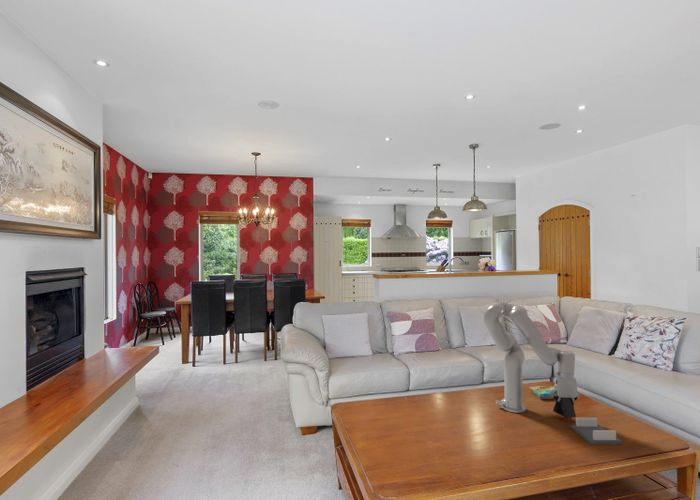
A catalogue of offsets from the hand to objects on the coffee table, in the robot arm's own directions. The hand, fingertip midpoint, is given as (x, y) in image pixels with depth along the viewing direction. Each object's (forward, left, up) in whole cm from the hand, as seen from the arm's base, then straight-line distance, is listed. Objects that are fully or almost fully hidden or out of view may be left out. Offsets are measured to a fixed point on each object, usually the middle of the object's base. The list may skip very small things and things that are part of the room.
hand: (564, 408), depth 198 cm
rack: (+5, -18, -6) cm, 19 cm away
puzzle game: (+9, +32, -6) cm, 33 cm away
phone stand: (0, 0, -3) cm, 3 cm away
